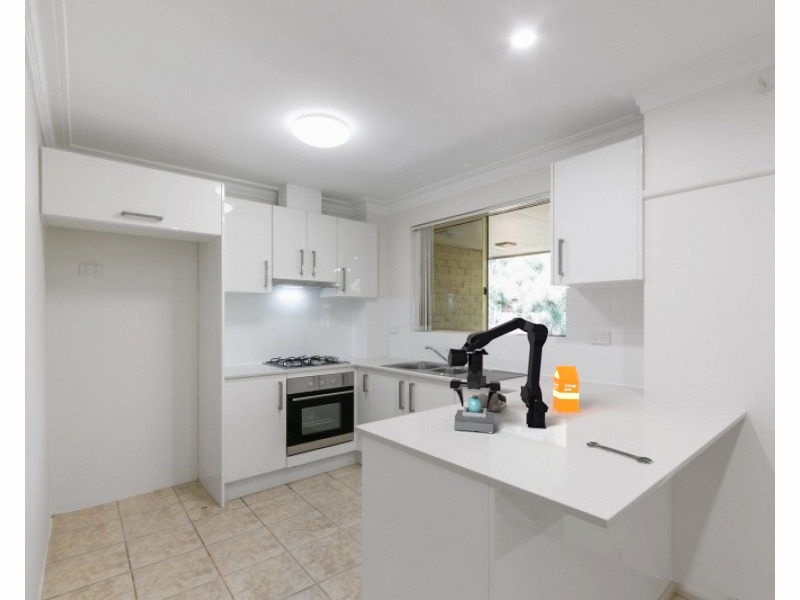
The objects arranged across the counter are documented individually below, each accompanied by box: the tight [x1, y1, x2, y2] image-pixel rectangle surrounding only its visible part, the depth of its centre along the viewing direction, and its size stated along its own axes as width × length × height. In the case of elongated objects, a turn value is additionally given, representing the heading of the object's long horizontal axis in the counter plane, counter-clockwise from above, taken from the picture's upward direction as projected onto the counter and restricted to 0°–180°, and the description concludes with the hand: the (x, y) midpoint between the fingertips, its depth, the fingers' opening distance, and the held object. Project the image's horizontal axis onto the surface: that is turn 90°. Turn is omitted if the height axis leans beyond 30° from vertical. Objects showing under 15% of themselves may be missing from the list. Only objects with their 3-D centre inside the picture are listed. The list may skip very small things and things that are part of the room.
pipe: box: [477, 392, 508, 413], centre depth 184 cm, size 16×9×15 cm
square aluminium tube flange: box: [453, 406, 495, 434], centre depth 157 cm, size 14×13×6 cm
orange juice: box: [552, 365, 580, 414], centre depth 186 cm, size 8×9×20 cm
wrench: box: [586, 441, 653, 465], centre depth 130 cm, size 5×2×20 cm
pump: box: [467, 394, 482, 413], centre depth 157 cm, size 5×5×7 cm
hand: (475, 407), depth 157 cm, fingers open, 9 cm apart
